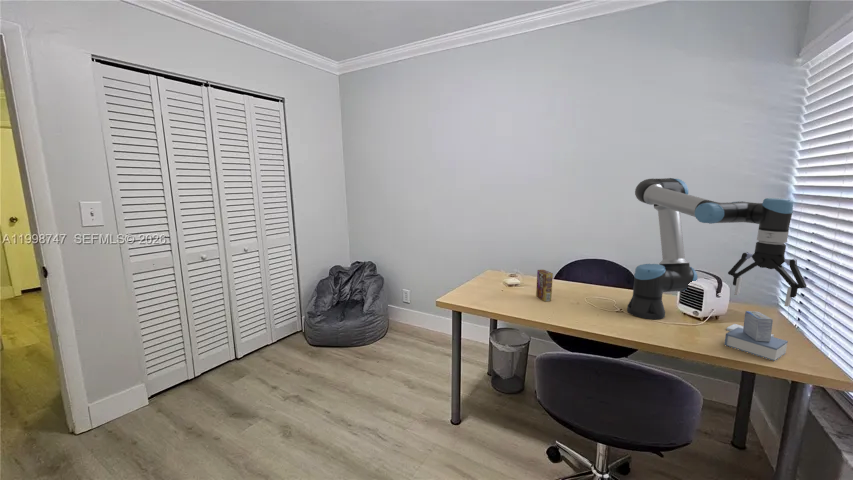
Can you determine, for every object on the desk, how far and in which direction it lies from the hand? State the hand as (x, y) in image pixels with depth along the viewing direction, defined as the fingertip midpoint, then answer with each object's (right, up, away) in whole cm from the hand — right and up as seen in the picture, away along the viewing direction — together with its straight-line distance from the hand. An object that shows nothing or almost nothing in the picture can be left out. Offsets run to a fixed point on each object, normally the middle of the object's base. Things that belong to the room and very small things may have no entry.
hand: (760, 299), depth 124 cm
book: (0, -19, +3) cm, 19 cm away
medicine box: (0, -14, +2) cm, 15 cm away
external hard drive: (+11, -17, +16) cm, 26 cm away
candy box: (-58, -10, +61) cm, 85 cm away
